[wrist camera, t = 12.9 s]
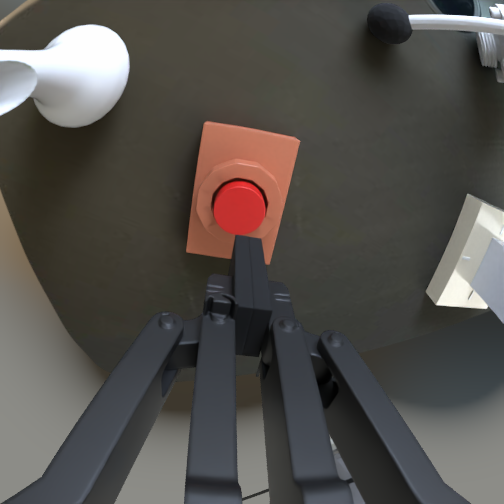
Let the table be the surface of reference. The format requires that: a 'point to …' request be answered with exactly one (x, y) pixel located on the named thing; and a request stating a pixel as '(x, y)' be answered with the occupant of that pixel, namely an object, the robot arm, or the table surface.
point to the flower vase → (67, 76)
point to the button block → (239, 169)
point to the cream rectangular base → (466, 254)
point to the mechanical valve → (401, 26)
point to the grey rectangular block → (492, 278)
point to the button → (239, 208)
